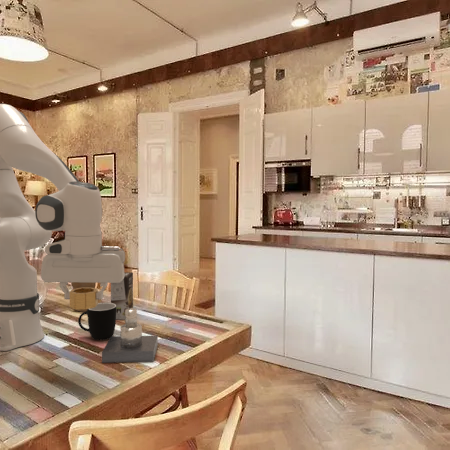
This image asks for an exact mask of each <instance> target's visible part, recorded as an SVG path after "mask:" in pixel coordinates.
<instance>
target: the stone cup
mask: <svg viewBox="0 0 450 450" xmlns="http://www.w3.org/2000/svg"><path fill="white" fill-rule="evenodd" d="M70 284H71V287H72V289H77V288H82V287H85V288H95V289H96V285H97V283H87V282H70ZM102 302H103V299H102V300H98V303H102ZM74 310H76V311H78V312H81V313H84V312H86V311H87V309H74Z"/></svg>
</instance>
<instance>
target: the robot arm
mask: <svg viewBox="0 0 450 450" xmlns="http://www.w3.org/2000/svg"><path fill="white" fill-rule="evenodd" d="M14 169H15V170H18V171H23V172H27V173H30V174H33V175H36V176H38V177H39V176H40V177H42V178H44V179H46V180H48V181H49V182H51V183H52V184H53V185H54V186H55V187H56V189H57V190H58V191H56V192H54V193H50V194H47V195H44V196H42V197H41V198H40V199H39V200H38V201H37V202H36V206H35V209H34V208H33V207H32V205H31V204H30V203H29V202H28V200H27V198H26V197H25V195H24V194H23V192H22V189H21V187H20V184H19V182H18V179H17V176H16V174H15V171H14ZM102 204H103V203H102V195H101V191H100V189H99V187H98V186H97V185H95V184H93V183H90V182H83V181H80V180H79V179H78V178H77V177H76V175H75V174H74V172H72V170H71V168H69V167H68V165H67V164H66V163H65V162H64V160H63V159H61V158H60V157H59V156H58V154H56V153H55V152H53V151H52V150H51V149H50V148H49V147H48V146H47V145H46V144H45V143H44V141H42V140H41V138H40V137H39V135H37V134H36V132H35V130H34V129H33V127H32V126H31V124H30V122H29V120H28V118H27V116H26V115H25V114H24V113H23V112H22V111H20V110H18V109H17V108H16V107H14V106H12V105H11V104H7V103H0V352H1V351H2V352H3V351H4V352H6V351H7V352H8V351H11V350H14V349H16V348H21V347H25V346H28V345H29V346H30V345H32V344H35V343H37V342H39V341H41V340H43V339H44V337H45V333H44V331H43V327H42V323H41V318H40V313H39V312H40V306H41V303H40V302H41V301H40V294H39V292H38V273H37V269H36V268H35V266H33V265H32V264H30V263H29V262H28V260H27V258H26V254H25V251H28V250H29V251H30V250H35V249H37V248H40V247H42V246H44V245H46V244H47V243H49V241H50V240H51V238H52V234H53V232H61V231H65V232H64V239H59V240H58V241H55V242H51V243H49V244H47V245H46V246H45V247H44V253H45V255H44V257H43V258H42V261H41V271H40V279H41V280H42V281H43V282H44V283H59V288H60V290H61V291H62V292H63V294H64V295H63V296H64V297H63V299H64V300H70V291H71V290H69V287H67V286H68V283H71V282H87V283H96V284H97V283H98V284H99V285H100V287H101V289H100V290H98V291H97V293H96V300H102V301H103V298H104V291H105V290H106V288H107V286H108V283H110V284H111V283H120V282H121V281H122V280H123V279H124V276H125V274H124V272H125V266H124V264H125V261H126V252H125V250H124V249H123V248H120V246H116V245H115V246H111V245H110V246H109V245H103V238H102V237H103V231H102V229H101V221H102V218H103V207H102V206H103V205H102Z"/></svg>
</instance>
